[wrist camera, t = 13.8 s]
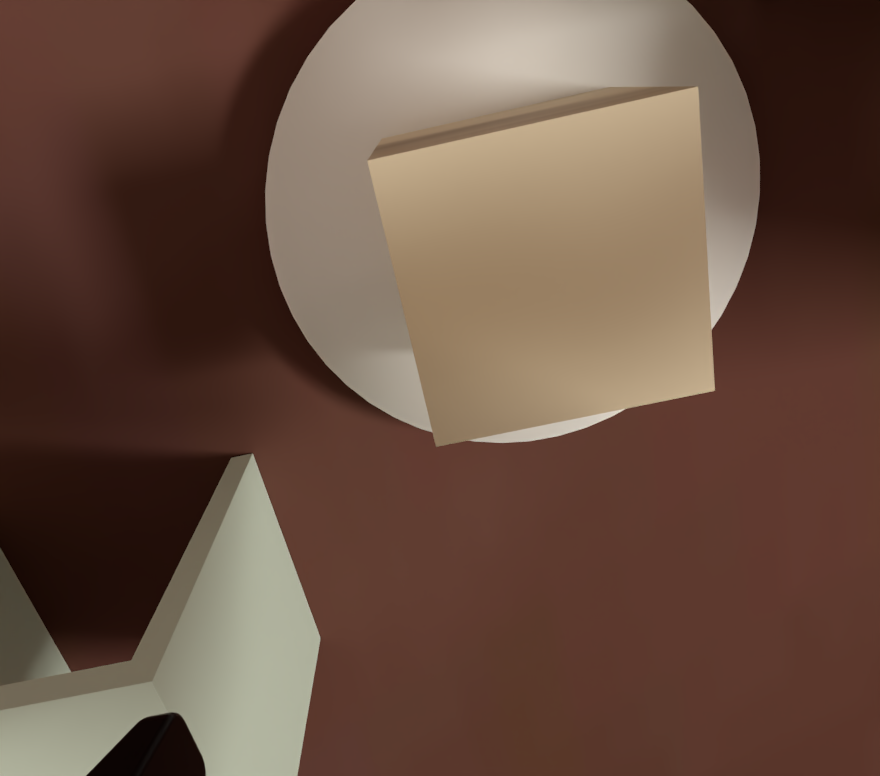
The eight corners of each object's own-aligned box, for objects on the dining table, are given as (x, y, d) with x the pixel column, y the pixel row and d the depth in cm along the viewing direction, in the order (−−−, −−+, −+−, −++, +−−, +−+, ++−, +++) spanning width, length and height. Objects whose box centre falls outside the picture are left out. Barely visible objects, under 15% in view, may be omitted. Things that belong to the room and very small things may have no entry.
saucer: (832, 173, 13) (863, 179, 13) (529, 491, 16) (536, 516, 15) (474, -188, 11) (480, -212, 10) (186, 256, 14) (171, 268, 13)
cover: (320, 638, 18) (273, 917, 12) (59, 688, 18) (-115, 984, 12) (252, 452, 16) (152, 681, 10) (-42, 514, 16) (-316, 770, 10)
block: (632, 307, 13) (715, 390, 10) (430, 349, 14) (435, 446, 10) (610, 87, 12) (697, 85, 8) (381, 138, 12) (366, 160, 8)
